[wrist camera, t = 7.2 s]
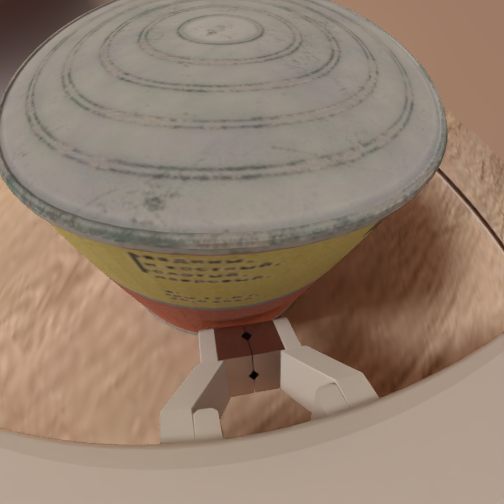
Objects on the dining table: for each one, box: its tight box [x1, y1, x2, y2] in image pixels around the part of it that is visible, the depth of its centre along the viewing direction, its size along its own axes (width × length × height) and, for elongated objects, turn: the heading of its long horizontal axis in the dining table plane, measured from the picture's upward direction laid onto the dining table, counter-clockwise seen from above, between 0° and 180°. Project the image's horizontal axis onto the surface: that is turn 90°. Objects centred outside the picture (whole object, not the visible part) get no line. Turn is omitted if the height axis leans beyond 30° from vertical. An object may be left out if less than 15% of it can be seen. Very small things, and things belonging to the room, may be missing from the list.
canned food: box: [0, 0, 447, 335], centre depth 11 cm, size 11×11×12 cm
